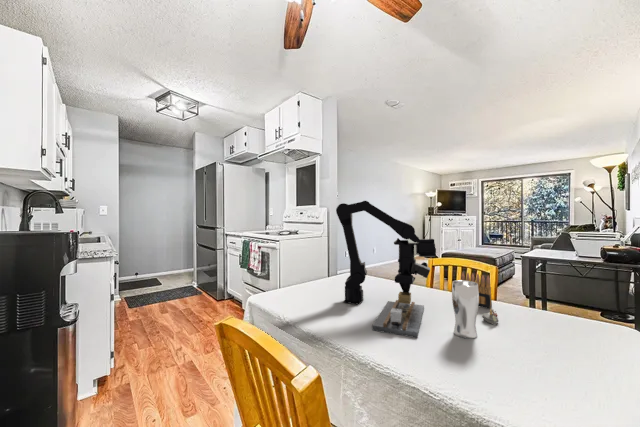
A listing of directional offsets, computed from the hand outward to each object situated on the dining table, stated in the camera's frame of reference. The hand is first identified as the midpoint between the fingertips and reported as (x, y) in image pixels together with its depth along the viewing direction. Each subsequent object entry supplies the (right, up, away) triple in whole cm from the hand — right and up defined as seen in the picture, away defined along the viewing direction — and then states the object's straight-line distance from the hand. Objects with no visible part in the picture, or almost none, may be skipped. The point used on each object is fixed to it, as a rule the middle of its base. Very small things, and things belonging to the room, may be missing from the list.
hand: (406, 296), depth 109 cm
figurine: (+22, -3, -18) cm, 28 cm away
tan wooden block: (-2, -1, -5) cm, 6 cm away
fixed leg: (-10, -2, -22) cm, 25 cm away
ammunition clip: (+26, -3, -1) cm, 26 cm away
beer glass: (+9, -3, -26) cm, 28 cm away
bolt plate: (-7, -3, -15) cm, 16 cm away
